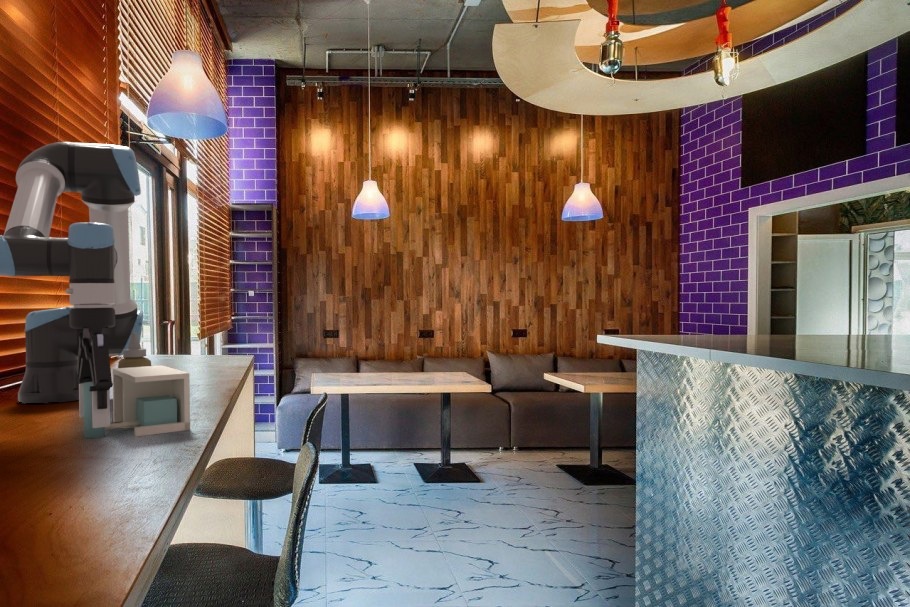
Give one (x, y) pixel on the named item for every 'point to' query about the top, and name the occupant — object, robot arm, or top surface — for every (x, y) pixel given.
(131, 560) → the top surface
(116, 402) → the cream cubby shelf
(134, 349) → the squeeze bottle
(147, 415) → the teal block
